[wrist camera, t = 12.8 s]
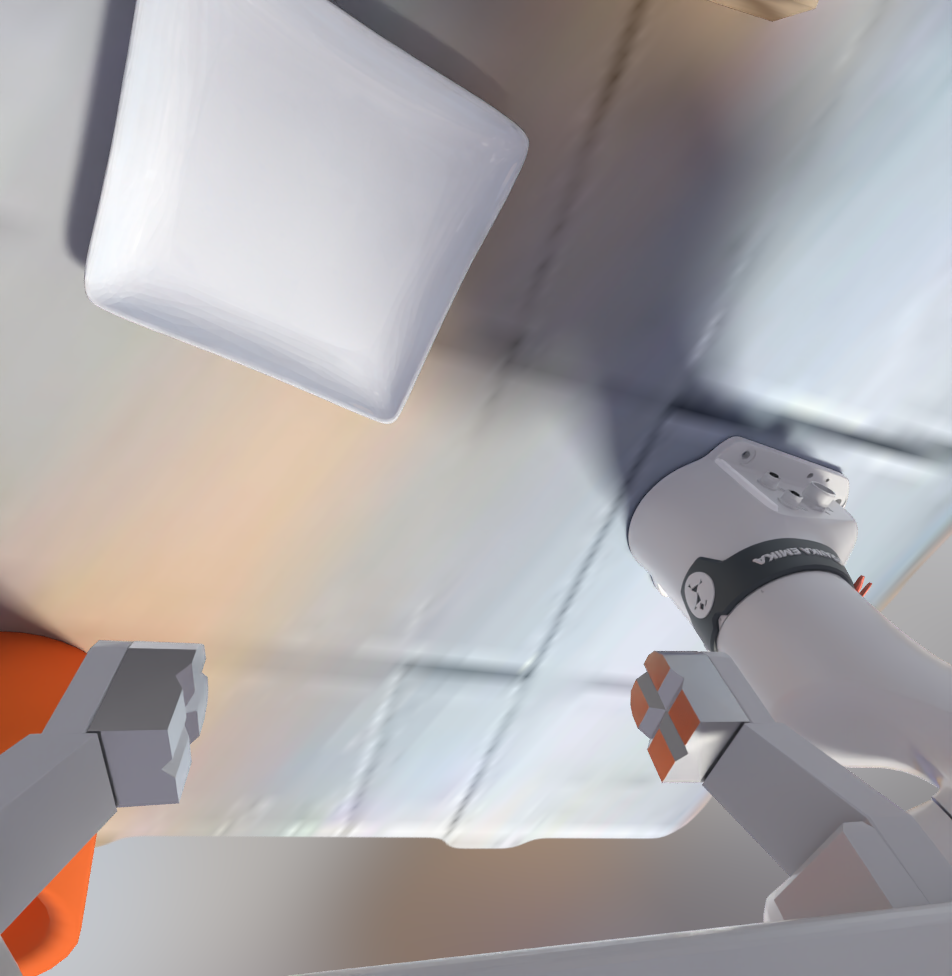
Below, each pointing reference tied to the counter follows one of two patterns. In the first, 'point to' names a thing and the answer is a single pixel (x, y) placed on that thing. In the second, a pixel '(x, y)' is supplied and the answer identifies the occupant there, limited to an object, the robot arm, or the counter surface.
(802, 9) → the tan wooden shallow frame
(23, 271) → the counter surface
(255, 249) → the salad plate
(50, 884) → the flowerpot
